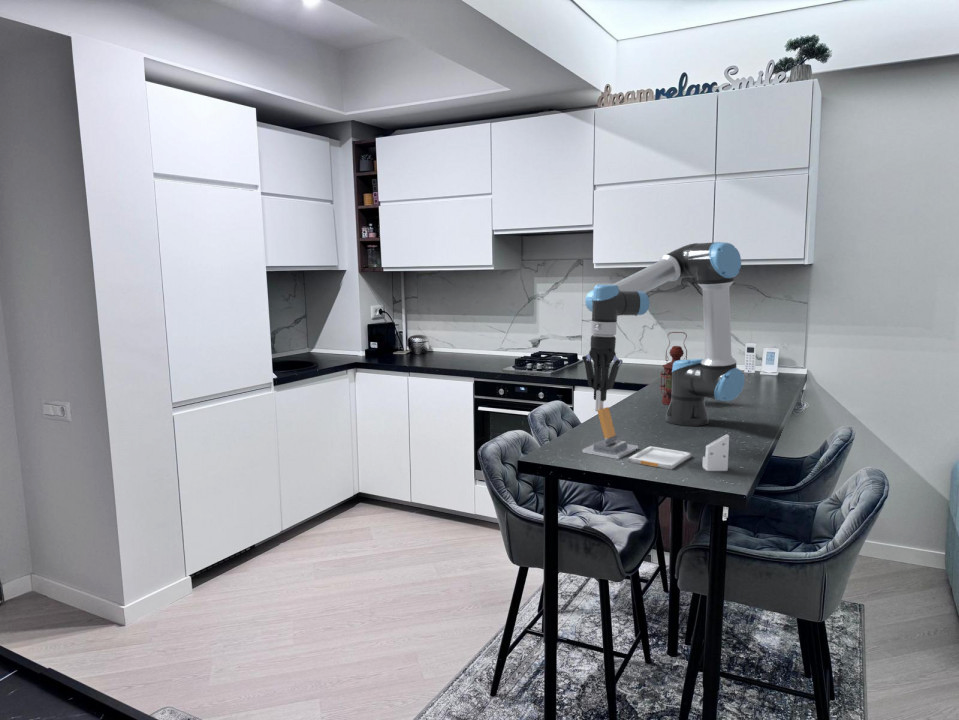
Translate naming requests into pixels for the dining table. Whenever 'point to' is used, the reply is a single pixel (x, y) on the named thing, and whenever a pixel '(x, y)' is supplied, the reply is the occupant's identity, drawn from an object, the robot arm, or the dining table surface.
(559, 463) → the dining table surface
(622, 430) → the dining table surface
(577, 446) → the dining table surface
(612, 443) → the panel
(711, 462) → the white wedge bracket
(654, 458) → the tray
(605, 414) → the block
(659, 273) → the robot arm
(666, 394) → the lantern
